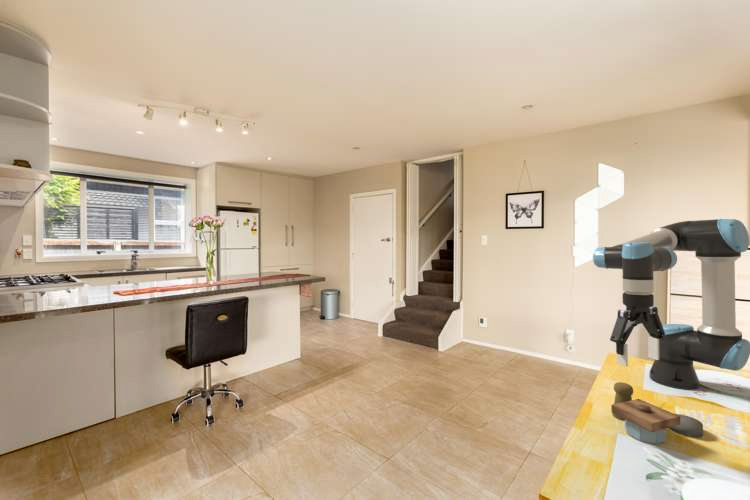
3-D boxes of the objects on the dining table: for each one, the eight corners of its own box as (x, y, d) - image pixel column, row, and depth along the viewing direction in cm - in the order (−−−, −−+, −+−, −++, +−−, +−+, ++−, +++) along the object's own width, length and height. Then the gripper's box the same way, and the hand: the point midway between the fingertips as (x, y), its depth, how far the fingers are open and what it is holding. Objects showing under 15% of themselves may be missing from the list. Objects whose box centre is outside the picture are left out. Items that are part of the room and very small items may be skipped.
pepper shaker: (639, 422, 108) (639, 388, 108) (617, 420, 109) (617, 387, 109) (628, 413, 114) (628, 380, 114) (608, 411, 115) (608, 379, 115)
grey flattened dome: (678, 421, 108) (678, 411, 108) (709, 434, 101) (709, 424, 100) (660, 425, 106) (660, 416, 106) (691, 439, 98) (691, 429, 98)
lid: (638, 406, 108) (638, 395, 108) (680, 424, 97) (680, 412, 97) (611, 412, 105) (611, 401, 105) (651, 432, 94) (651, 419, 94)
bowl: (639, 424, 107) (639, 409, 106) (672, 440, 98) (672, 423, 98) (618, 430, 104) (618, 413, 104) (649, 446, 95) (649, 429, 95)
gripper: (652, 288, 111) (653, 352, 112) (595, 294, 103) (596, 363, 104) (679, 291, 104) (679, 359, 104) (620, 298, 96) (621, 372, 97)
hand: (638, 361), depth 104 cm, fingers open, 13 cm apart
